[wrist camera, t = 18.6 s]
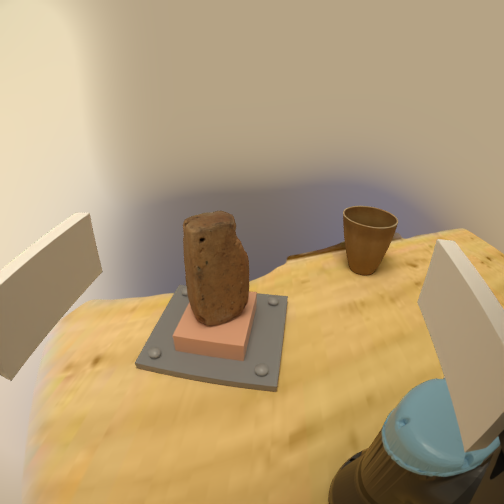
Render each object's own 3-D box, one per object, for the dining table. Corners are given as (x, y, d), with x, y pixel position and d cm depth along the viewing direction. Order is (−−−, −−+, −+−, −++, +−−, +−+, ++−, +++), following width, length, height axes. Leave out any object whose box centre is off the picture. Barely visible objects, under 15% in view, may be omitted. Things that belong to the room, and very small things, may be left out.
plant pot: (375, 255, 93) (385, 206, 85) (393, 282, 80) (407, 228, 72) (330, 255, 93) (337, 204, 85) (342, 283, 80) (352, 226, 72)
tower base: (287, 301, 73) (288, 281, 71) (276, 391, 51) (278, 372, 48) (180, 289, 77) (177, 270, 74) (136, 368, 54) (129, 348, 52)
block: (198, 331, 56) (187, 231, 47) (187, 307, 62) (176, 213, 53) (252, 317, 60) (254, 219, 51) (237, 295, 66) (236, 204, 57)
